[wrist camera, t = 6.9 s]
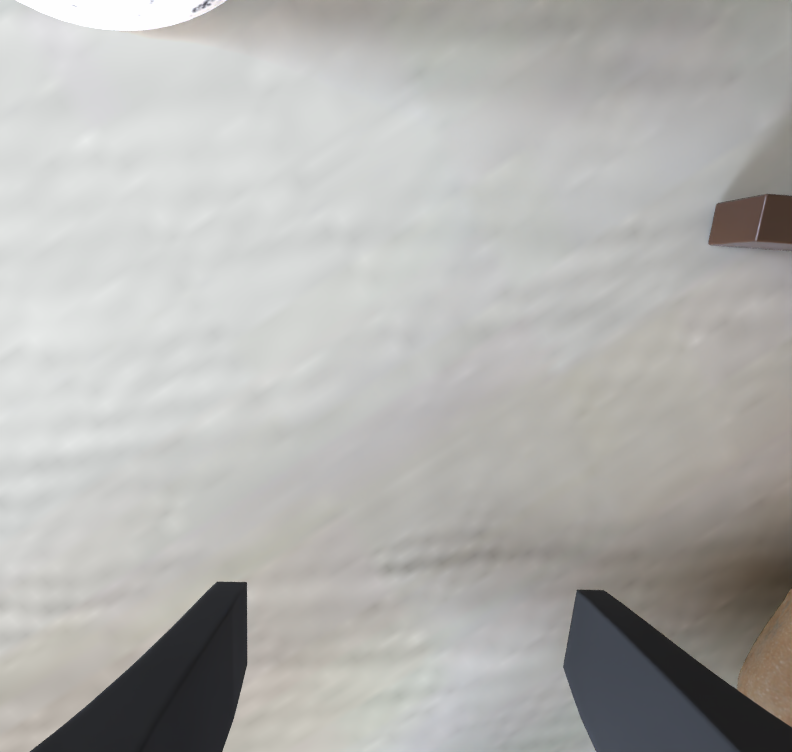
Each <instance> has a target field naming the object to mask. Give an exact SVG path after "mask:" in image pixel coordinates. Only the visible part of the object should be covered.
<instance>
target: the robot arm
mask: <svg viewBox="0 0 792 752" xmlns="http://www.w3.org/2000/svg"><path fill="white" fill-rule="evenodd" d="M246 667H247V582H217V583H215V584H214V585H213V586H212V587H211V588H210V589H209V590H208V591H207V592H206V593H205V594H204V595H203V596H202V597H201V598H200V599H199V600H198V601H197V602H196V603H195V604H194V605H193V606H192V607H191V608H190V609H189V610H188V611H187V612H186V614H185V615H184V616H183V617H182V618H181V619H180V620H179V621H178V622H177V623H176V624H175V625H174V626H173V627H172V628H171V629H170V630H169V631H168V632H167V633H166V634H164V635H163V636H162V637H161V638H160V639H159V640H158V641H157V642H156V643H155V644H154V645H153V646H152V647H151V648H150V649H149V650H148V651H147V652H146V653H145V654H144V655H143V656H142V657H141V658H140V659H139V660H137V661H136V662H135V663H134V664H133V665H132V666H131V667H130V668H129V669H128V670H127V671H125V672H124V673H123V674H122V675H121V676H120V677H119V678H118V679H116V680H115V681H114V682H113V683H112V684H111V685H110V686H109V687H107V688H106V689H105V690H104V691H103V692H102V693H101V694H100V695H98V696H97V697H96V698H95V699H94V700H93V701H92V702H91V703H89V704H88V705H87V706H86V707H85V708H83V709H82V710H81V711H80V712H79V713H77V714H76V715H75V716H74V717H73V718H71V719H70V720H69V721H68V722H67V723H65V724H64V725H63V726H62V727H60V728H59V729H58V730H57V731H56V732H54V733H53V734H52V735H51V736H49V737H48V738H47V739H45V740H44V741H43V742H42V743H40V744H39V745H38V746H36V747H35V748H34V749H33V750H31V751H30V752H222V751H223V748H224V745H225V742H226V739H227V736H228V734H229V731H230V728H231V725H232V722H233V719H234V715H235V711H236V708H237V704H238V700H239V696H240V692H241V688H242V683H243V679H244V675H245V671H246ZM563 668H564V671H565V674H566V677H567V680H568V683H569V686H570V689H571V692H572V695H573V697H574V700H575V703H576V706H577V708H578V711H579V714H580V717H581V719H582V722H583V724H584V726H585V728H586V730H587V732H588V735H589V737H590V739H591V741H592V743H593V745H594V747H595V750H596V752H792V727H791V726H789V725H788V724H786V723H785V722H783V721H782V720H780V719H779V718H777V717H776V716H774V715H773V714H771V713H770V712H768V711H767V710H765V709H764V708H762V707H761V706H759V705H758V704H757V703H755V702H754V701H752V700H751V699H749V698H748V697H747V696H745V695H744V694H742V693H741V692H739V691H738V690H737V689H735V688H734V687H732V686H731V685H729V684H728V683H727V682H725V681H724V680H723V679H721V678H720V677H718V676H717V675H716V674H714V673H713V672H712V671H710V670H709V669H707V668H706V667H705V666H703V665H702V664H701V663H699V662H698V661H697V660H695V659H694V658H693V657H691V656H690V655H689V654H687V653H686V652H685V651H683V650H682V649H681V648H680V647H678V646H677V645H676V644H674V643H673V642H672V641H670V640H669V639H668V638H666V637H665V636H664V635H663V634H661V633H660V632H659V631H657V630H656V629H655V628H654V627H652V626H651V625H650V624H648V623H647V622H646V621H644V620H643V619H642V618H641V617H639V616H638V615H637V614H635V613H634V612H633V611H631V610H630V609H629V608H628V607H626V606H625V605H624V604H622V603H621V602H619V601H618V600H617V599H615V598H614V597H613V596H611V595H610V594H608V593H607V592H605V591H604V590H577V593H576V598H575V604H574V609H573V615H572V621H571V626H570V632H569V637H568V643H567V649H566V654H565V660H564V665H563Z"/></svg>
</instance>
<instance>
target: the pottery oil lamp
mask: <svg viewBox="0 0 792 752" xmlns="http://www.w3.org/2000/svg"><path fill="white" fill-rule="evenodd" d="M737 690H738V691H739V692H741V693H742V694H744V695H745V696H747V697H748V698H749V699H751V700H752V701H754V702H755V703H757V704H758V705H759V706H761V707H762V708H764V709H765V710H767V711H768V712H770V713H771V714H773V715H774V716H776V717H777V718H779V719H780V720H782V721H783V722H785V723H786V724H788V725H789V726H791V727H792V588H791V589H790V591H789V592H788V594H787V596H786V598H785V599H784V601H783V602H782V603H781V605H780V606H779V607H778V609H777V610H776V612H775V614H774V615H773V617H772V618H771V619H770V620H769V622H768V623H767V624H766V626H765V627H764V629H763V630H762V632H761V634H760V635H759V637H758V639H757V640H756V642H755V643H754V644H753V646H752V648H751V650H750V652H749V654H748V656H747V658H746V660H745V662H744V664H743V666H742V668H741V670H740V673H739V678H738V685H737Z"/></svg>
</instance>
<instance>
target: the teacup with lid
mask: <svg viewBox="0 0 792 752" xmlns="http://www.w3.org/2000/svg"><path fill="white" fill-rule="evenodd" d="M17 1H18V2H20V3H22V4H25V5H27V6H29V7H31V8H33V9H35V10H37V11H39V12H41V13H44V14H47V15H49V16H52V17H55V18H57V19H60V20H63V21H66V22H70V23H74V24H78V25H82V26H86V27H93V28H99V29H105V30H123V31H134V30H150V29H156V28H161V27H167V26H171V25H175V24H178V23H181V22H185V21H188V20H190V19H193V18H195V17H197V16H200V15H202V14H205V13H207V12H208V11H210V10H212V9H214V8H215V7H217V6H219V5H221V4H222V3H224V2H225V1H227V0H17Z"/></svg>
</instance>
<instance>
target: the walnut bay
mask: <svg viewBox="0 0 792 752" xmlns="http://www.w3.org/2000/svg"><path fill="white" fill-rule="evenodd" d="M708 244H709V245H716V246H730V247H744V248H758V249H772V250H786V251H792V196H789V195H776V194H764V195H758V196H753V197H748V198H742V199H737V200H732V201H727V202H721V203H718V204H717V205H716V209H715V214H714V218H713V223H712V228H711V233H710V238H709V242H708Z"/></svg>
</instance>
